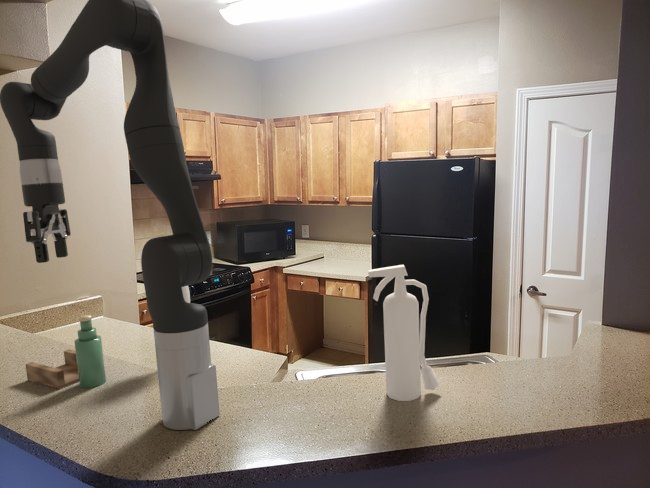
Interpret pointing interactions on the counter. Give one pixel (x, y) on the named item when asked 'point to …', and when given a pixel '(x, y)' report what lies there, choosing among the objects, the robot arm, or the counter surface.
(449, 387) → the counter surface
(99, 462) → the counter surface
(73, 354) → the brown wooden u-shaped block
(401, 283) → the fire extinguisher
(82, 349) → the bottle
